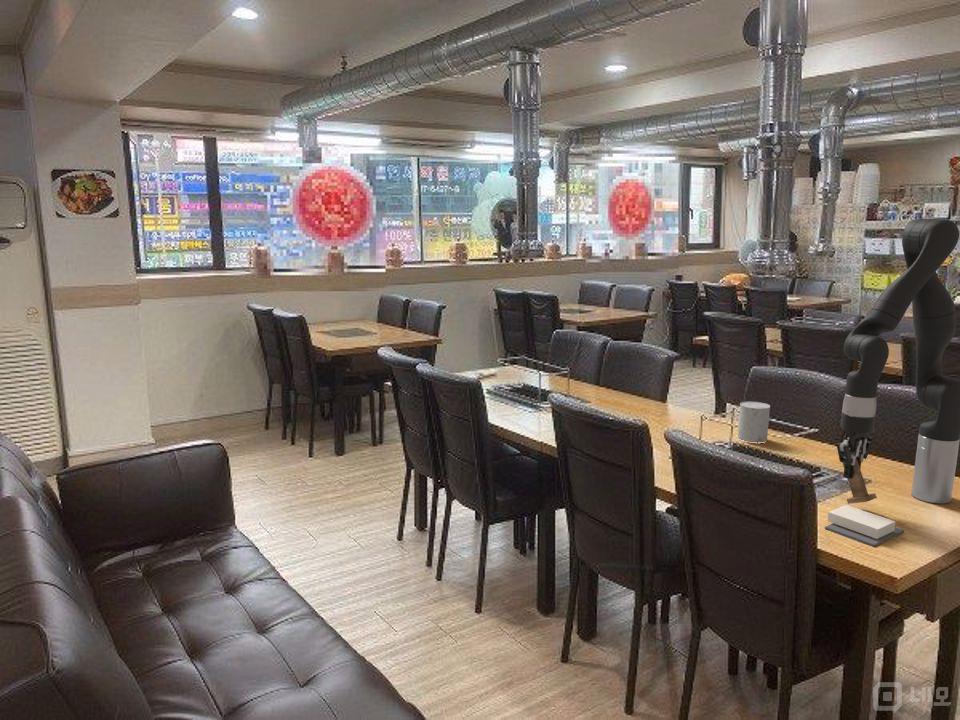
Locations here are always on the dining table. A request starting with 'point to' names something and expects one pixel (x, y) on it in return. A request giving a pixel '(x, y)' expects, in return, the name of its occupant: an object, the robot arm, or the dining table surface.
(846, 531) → the mat
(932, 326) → the robot arm
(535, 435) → the dining table surface
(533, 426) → the dining table surface
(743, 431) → the grey stone cylinder
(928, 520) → the dining table surface
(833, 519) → the white rectangular block
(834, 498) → the dining table surface
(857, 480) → the brown tapered stand
